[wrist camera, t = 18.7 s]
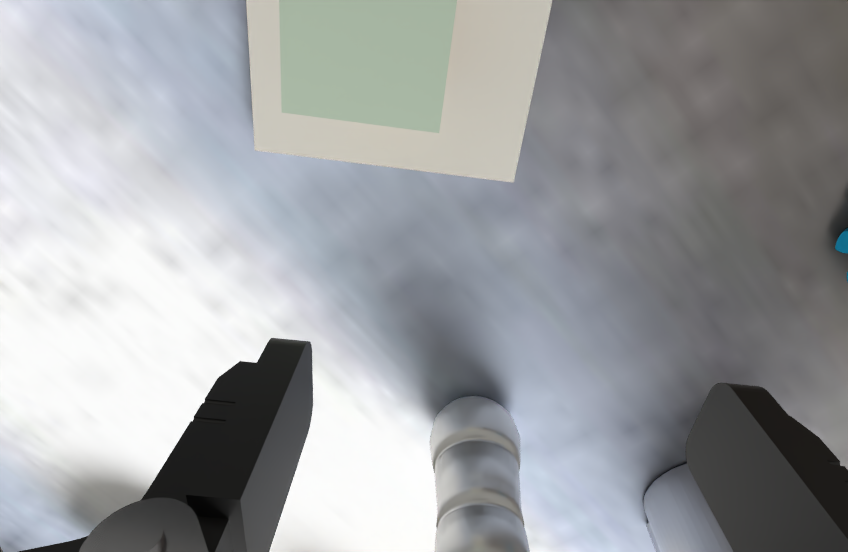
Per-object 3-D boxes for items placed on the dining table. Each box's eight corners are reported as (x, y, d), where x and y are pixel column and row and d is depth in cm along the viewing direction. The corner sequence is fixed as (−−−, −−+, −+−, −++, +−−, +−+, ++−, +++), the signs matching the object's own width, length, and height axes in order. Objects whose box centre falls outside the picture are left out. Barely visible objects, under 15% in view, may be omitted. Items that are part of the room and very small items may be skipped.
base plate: (510, 173, 28) (513, 182, 27) (263, 143, 28) (254, 150, 26) (576, -143, 21) (584, -152, 20) (248, -189, 21) (234, -201, 19)
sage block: (440, 103, 20) (439, 133, 16) (317, 87, 20) (281, 112, 15) (459, -42, 17) (464, -56, 13) (319, -62, 17) (277, -82, 13)
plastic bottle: (439, 451, 39) (434, 810, 22) (422, 388, 36) (401, 751, 19) (520, 442, 39) (582, 809, 21) (510, 377, 35) (572, 746, 18)
